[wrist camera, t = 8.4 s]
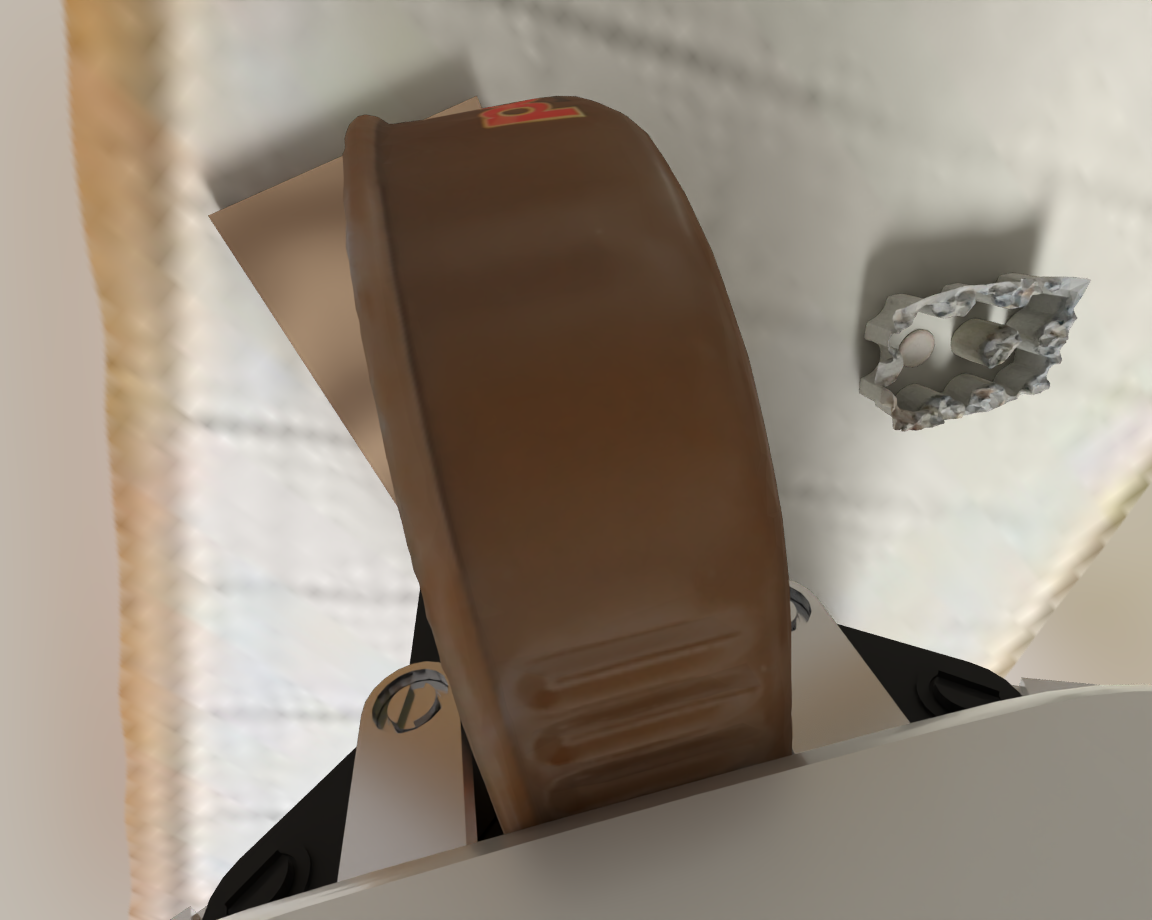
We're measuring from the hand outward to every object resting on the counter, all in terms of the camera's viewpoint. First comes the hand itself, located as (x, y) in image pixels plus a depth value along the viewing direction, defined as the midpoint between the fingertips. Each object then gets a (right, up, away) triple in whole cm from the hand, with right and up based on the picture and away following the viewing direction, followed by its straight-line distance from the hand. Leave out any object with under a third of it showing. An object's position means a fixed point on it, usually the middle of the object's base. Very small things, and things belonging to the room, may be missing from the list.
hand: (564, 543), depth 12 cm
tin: (0, +1, +1) cm, 2 cm away
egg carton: (+22, +9, +22) cm, 32 cm away
